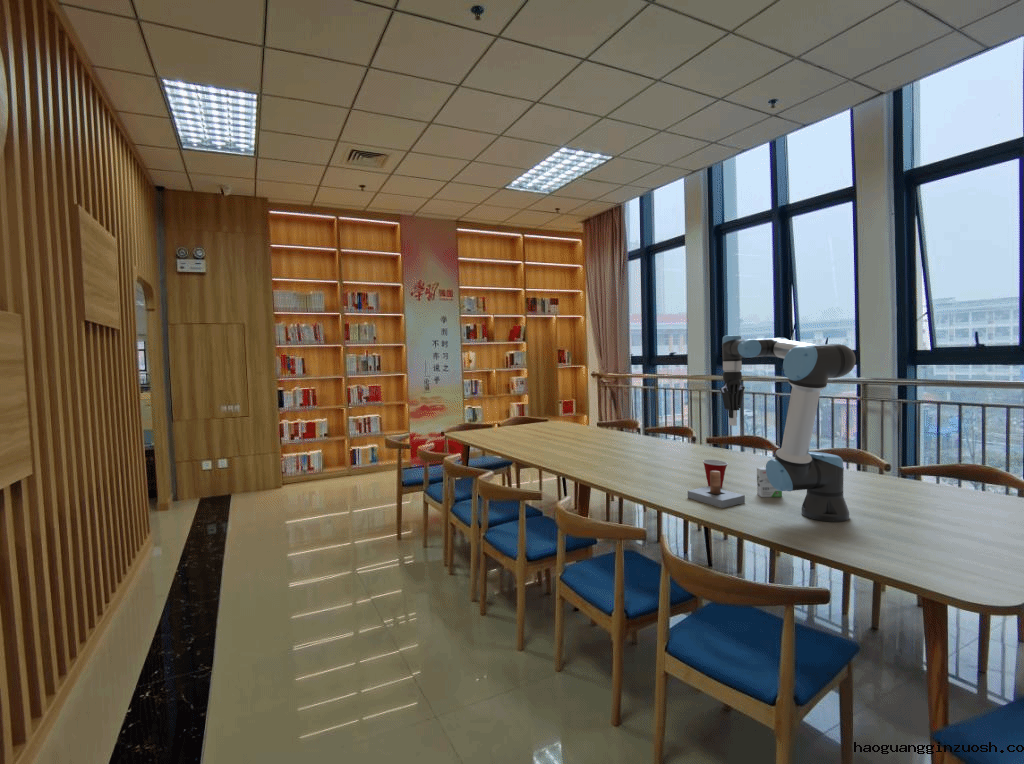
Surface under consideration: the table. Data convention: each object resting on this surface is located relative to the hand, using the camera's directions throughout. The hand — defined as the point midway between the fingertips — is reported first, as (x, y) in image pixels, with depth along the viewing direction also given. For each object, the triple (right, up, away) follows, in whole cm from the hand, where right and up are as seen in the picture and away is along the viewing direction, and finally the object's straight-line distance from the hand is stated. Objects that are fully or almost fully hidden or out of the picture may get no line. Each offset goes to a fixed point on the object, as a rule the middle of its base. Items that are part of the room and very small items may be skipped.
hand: (733, 425), depth 226 cm
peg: (-11, -30, -9) cm, 34 cm away
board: (-11, -30, -9) cm, 34 cm away
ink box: (+13, -30, -6) cm, 33 cm away
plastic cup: (-3, -29, +10) cm, 31 cm away
